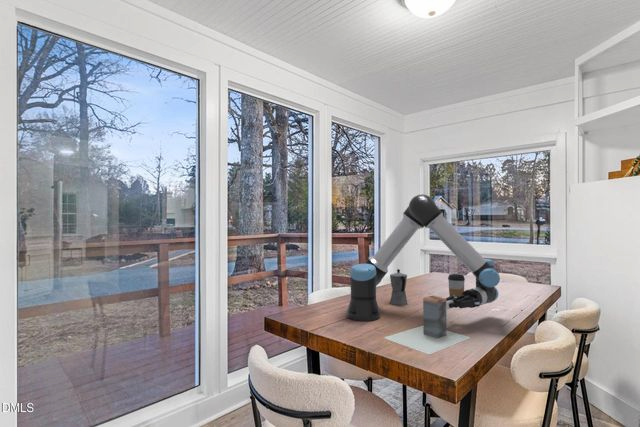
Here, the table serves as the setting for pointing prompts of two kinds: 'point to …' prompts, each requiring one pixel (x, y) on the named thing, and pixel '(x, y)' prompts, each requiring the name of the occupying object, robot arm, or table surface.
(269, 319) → the table surface
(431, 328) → the slate block
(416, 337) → the sage mat
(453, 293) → the coffee cup
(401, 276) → the coffeepot
